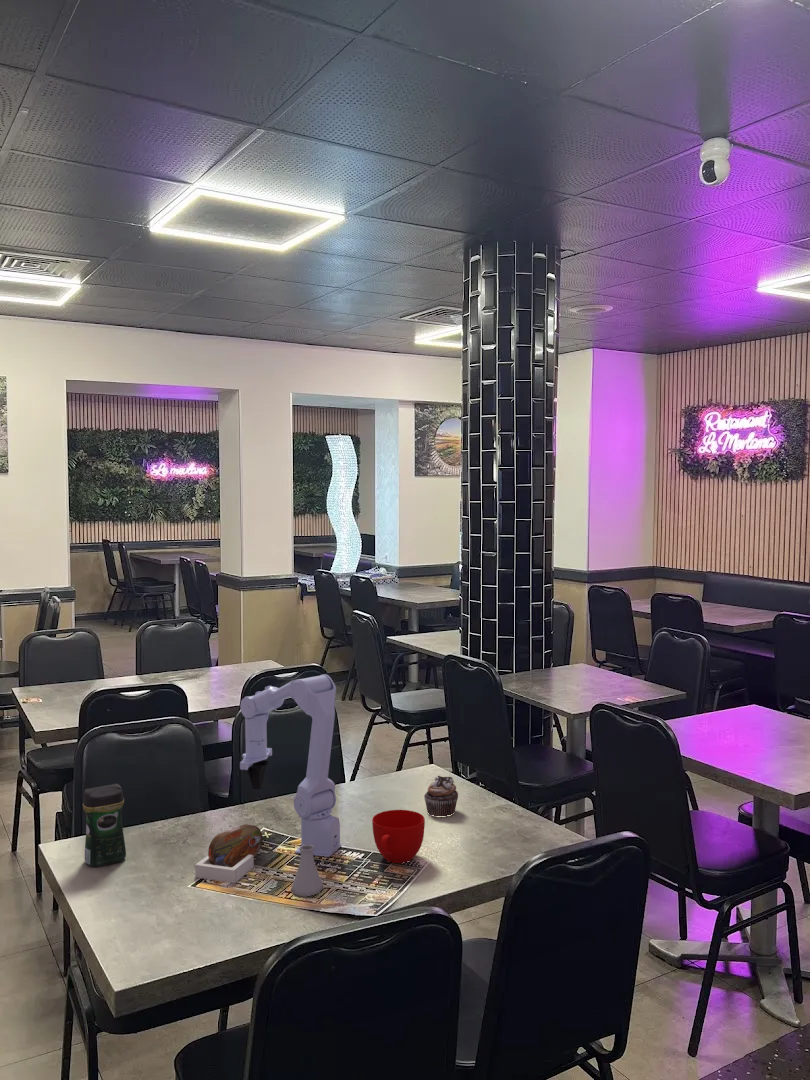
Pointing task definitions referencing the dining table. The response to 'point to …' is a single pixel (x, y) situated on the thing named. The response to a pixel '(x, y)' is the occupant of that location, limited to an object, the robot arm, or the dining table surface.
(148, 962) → the dining table surface
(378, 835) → the ceramic cup
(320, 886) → the flask
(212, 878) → the endcap
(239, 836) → the tin
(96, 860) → the coffee jar
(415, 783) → the dining table surface
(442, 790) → the cupcake
